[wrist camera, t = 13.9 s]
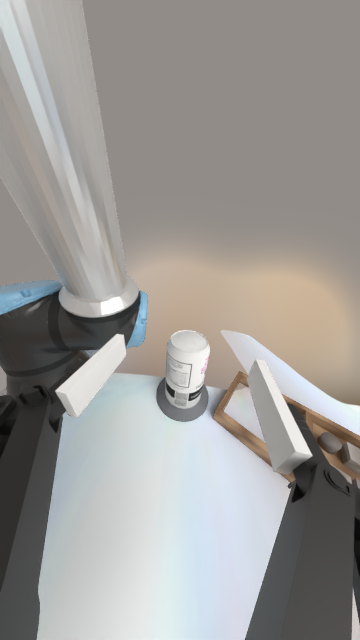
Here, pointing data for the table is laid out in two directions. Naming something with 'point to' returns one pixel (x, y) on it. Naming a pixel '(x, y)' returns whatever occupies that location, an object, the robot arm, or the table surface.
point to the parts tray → (334, 440)
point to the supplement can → (186, 368)
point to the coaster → (180, 413)
